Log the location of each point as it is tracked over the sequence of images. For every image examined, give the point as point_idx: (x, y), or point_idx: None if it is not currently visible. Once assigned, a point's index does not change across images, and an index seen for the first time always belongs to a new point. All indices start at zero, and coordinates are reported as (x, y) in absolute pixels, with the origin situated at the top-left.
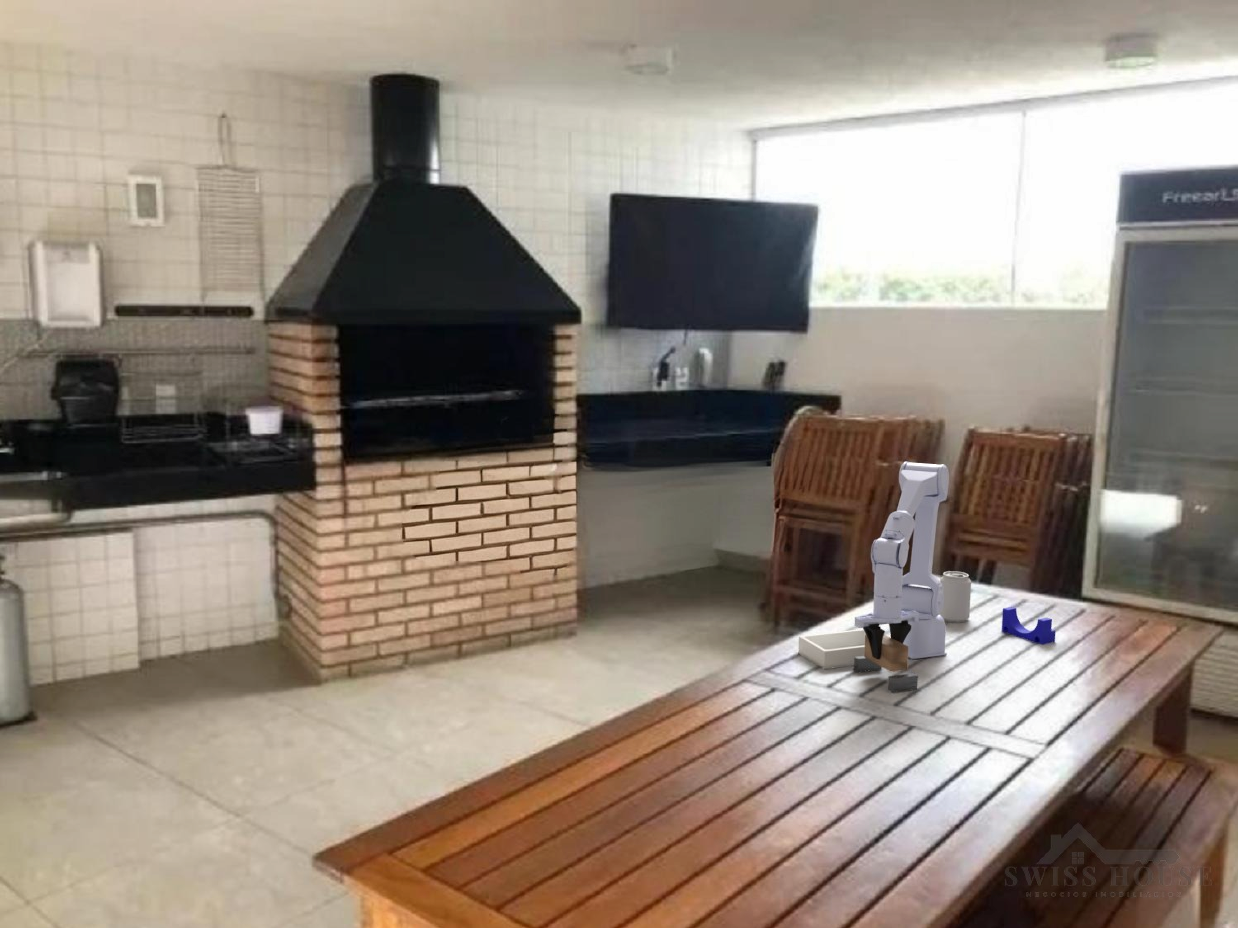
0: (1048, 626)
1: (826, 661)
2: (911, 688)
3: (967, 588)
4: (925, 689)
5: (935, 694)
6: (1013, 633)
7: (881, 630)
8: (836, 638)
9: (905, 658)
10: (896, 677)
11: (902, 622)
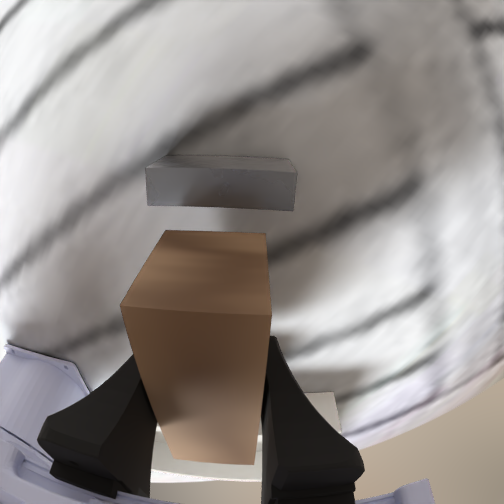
0: None
1: (330, 407)
2: (191, 157)
3: None
4: (135, 146)
5: (131, 86)
6: None
7: (313, 471)
8: (219, 467)
9: (163, 260)
10: (266, 181)
11: (86, 480)
